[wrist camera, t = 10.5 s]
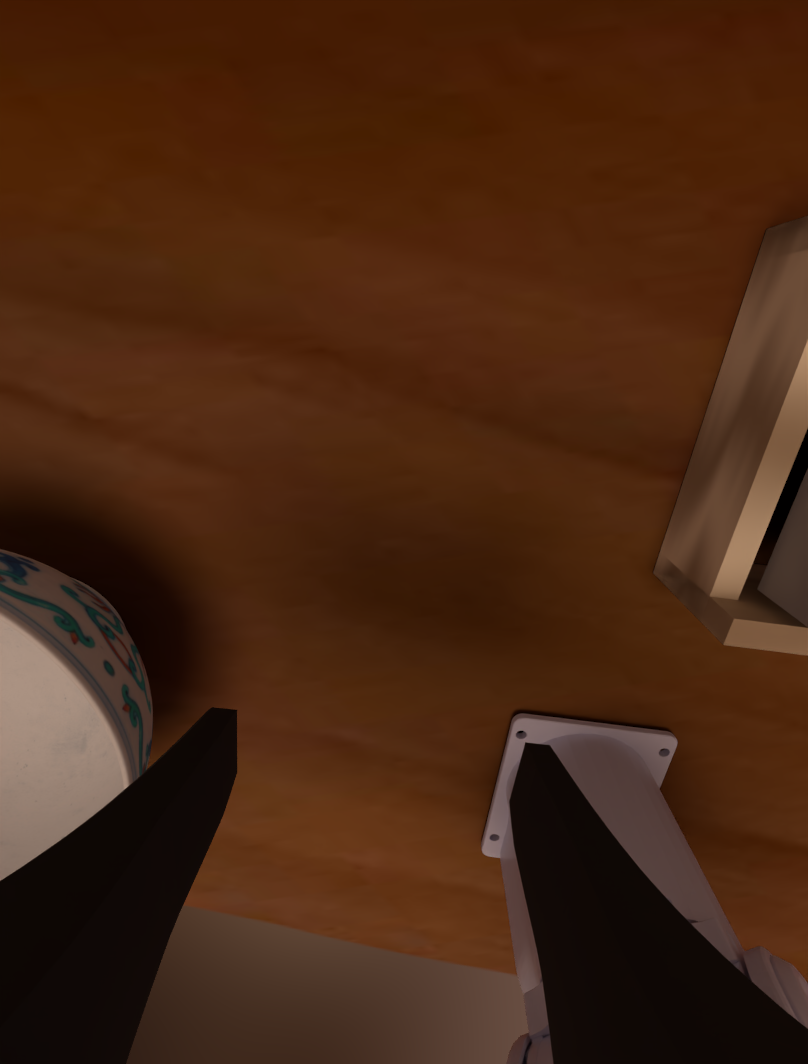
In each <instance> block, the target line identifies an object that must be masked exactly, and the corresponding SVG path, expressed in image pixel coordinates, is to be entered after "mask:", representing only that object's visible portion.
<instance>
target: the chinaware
mask: <svg viewBox="0 0 808 1064" xmlns="http://www.w3.org/2000/svg"><path fill="white" fill-rule="evenodd" d="M152 731H153V707H152V697H151V690H150V685H149V681H148V677H147V673H146V670H145V667H144V664H143V661H142V658H141V656H140V654H139V652H138V649H137V647H136V645H135V643H134V642H133V640H132V638H131V636H130V635H129V633H128V631H127V630H126V627H125V625H124V623H123V621H122V619H121V617H120V616H119V614H118V613H117V611H116V610H115V609H114V607H113V606H112V605H111V604H110V603H109V602H108V601H107V600H106V599H105V598H104V597H103V596H102V595H101V594H100V593H98V592H97V591H96V590H94V589H93V588H91V587H90V586H88V585H86V584H84V583H83V582H81V581H79V580H76V579H74V578H71V577H69V576H67V575H65V574H64V573H62V572H60V571H58V570H56V569H54V568H52V567H50V566H48V565H46V564H43V563H41V562H39V561H36V560H34V559H31V558H28V557H25V556H22V555H19V554H16V553H13V552H9V551H6V550H2V549H0V881H1V880H2V879H4V878H5V877H7V876H8V875H10V874H12V873H13V872H15V871H16V870H18V869H19V868H21V867H22V866H24V865H25V864H27V863H28V862H30V861H31V860H32V859H34V858H35V857H37V856H38V855H40V854H41V853H43V852H44V851H45V850H47V849H48V848H50V847H51V846H53V845H54V844H56V843H57V842H58V841H60V840H61V839H63V838H64V837H65V836H67V835H68V834H69V833H71V832H72V831H73V830H75V829H76V828H77V827H79V826H80V825H81V824H83V823H84V822H85V821H87V820H88V819H89V818H90V817H92V816H93V815H94V814H96V813H97V812H98V811H99V810H101V809H102V808H103V807H104V806H106V805H107V804H108V803H109V802H110V801H111V800H113V799H114V798H115V797H116V796H117V795H119V794H120V793H121V792H122V791H123V790H124V789H126V788H127V787H128V786H129V785H130V784H131V783H133V782H134V781H135V780H136V779H137V778H138V777H140V776H141V775H142V774H143V773H144V772H145V771H146V770H147V766H148V762H149V756H150V750H151V743H152Z"/></svg>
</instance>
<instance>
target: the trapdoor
mask: <svg viewBox="0 0 808 1064" xmlns="http://www.w3.org/2000/svg"><path fill="white" fill-rule="evenodd" d="M757 590H759V591H760V592H761V593H763V594H764V595H765V596H767V597H768V598H769V599H771V600H772V601H773V602H775V603H776V604H777V605H779V606H780V607H781V608H783V609H784V610H785V611H787V612H788V613H789V614H791V615H792V616H793V617H795V618H796V619H797V620H799V621H800V622H801V623H803V624H804V625H805V626H807V627H808V469H807V471H806V474H805V476H804V478H803V481H802V483H801V486H800V488H799V490H798V493H797V495H796V498H795V500H794V502H793V505H792V507H791V510H790V512H789V514H788V517H787V519H786V522H785V524H784V526H783V529H782V531H781V533H780V536H779V538H778V541H777V543H776V545H775V548H774V550H773V553H772V555H771V557H770V560H769V562H768V565H767V567H766V569H765V572H764V574H763V577H762V579H761V581H760V584H759V586H758V588H757Z"/></svg>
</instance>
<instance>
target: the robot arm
mask: <svg viewBox="0 0 808 1064" xmlns="http://www.w3.org/2000/svg"><path fill="white" fill-rule="evenodd" d="M518 731H524V732H522V733H517V732H518ZM677 744H678V741H677V739H676V737H675V736H674V734H672V733H671V732H668V731H661V730H653V729H645V728H637V727H629V726H621V725H613V724H605V723H597V722H589V721H581V720H573V719H565V718H557V717H549V716H541V715H533V714H525V713H521V714H517V715H516V716H514V717H513V719H512V722H511V726H510V730H509V734H508V738H507V742H506V746H505V750H504V754H503V758H502V762H501V766H500V770H499V774H498V778H497V782H496V786H495V790H494V794H493V798H492V802H491V806H490V810H489V814H488V818H487V822H486V826H485V831H484V835H483V839H482V843H481V848H482V852H483V854H485V855H486V856H489V857H497V858H500V860H501V867H502V874H503V881H504V888H505V895H506V902H507V909H508V915H509V922H510V929H511V936H512V943H513V950H514V957H515V964H516V970H517V975H518V979H519V983H520V986H521V989H522V992H523V996H524V1003H525V1009H526V1016H527V1023H528V1029H529V1033H527V1034H524V1035H522V1036H520V1037H519V1038H518V1039H517V1040H516V1041H515V1042H514V1043H513V1046H512V1048H511V1050H510V1052H509V1055H508V1060H507V1064H808V983H807V981H806V980H805V979H804V978H803V976H802V975H801V974H800V973H799V971H798V970H797V969H796V968H795V967H794V966H793V965H792V964H790V963H789V962H787V961H785V960H783V959H781V958H779V957H777V956H774V955H772V954H771V953H770V952H769V951H768V950H767V949H765V948H763V947H761V946H758V947H755V948H752V949H750V950H747V951H745V950H744V949H743V948H742V946H741V944H740V942H739V941H738V939H737V937H736V935H735V933H734V931H733V929H732V927H731V925H730V923H729V921H728V919H727V918H726V916H725V914H724V912H723V910H722V908H721V906H720V904H719V902H718V900H717V898H716V896H715V895H714V893H713V891H712V889H711V887H710V885H709V883H708V881H707V879H706V877H705V875H704V873H703V872H702V870H701V868H700V866H699V864H698V862H697V860H696V858H695V856H694V854H693V852H692V850H691V849H690V847H689V845H688V843H687V841H686V839H685V837H684V835H683V833H682V831H681V829H680V827H679V826H678V824H677V822H676V820H675V818H674V816H673V814H672V812H671V810H670V808H669V806H668V804H667V803H666V801H665V799H664V797H663V795H662V793H661V791H660V787H661V784H662V782H663V779H664V777H665V774H666V772H667V769H668V767H669V764H670V762H671V760H672V757H673V755H674V752H675V750H676V747H677ZM661 749H664V750H662V751H660V750H661ZM236 774H237V710H231V709H222V708H214V707H212V708H211V709H209V710H208V711H207V712H206V713H205V714H204V715H203V716H202V717H201V718H200V719H199V720H198V721H197V722H196V723H195V724H194V725H193V726H192V727H191V728H190V729H189V730H188V731H187V732H186V733H185V734H184V735H183V736H182V737H181V738H180V739H179V740H178V741H177V742H176V743H175V744H174V745H173V746H172V747H171V748H170V749H169V750H168V751H167V752H166V753H164V754H163V755H162V756H161V757H160V758H159V759H158V760H157V761H156V762H155V763H154V764H153V765H152V766H150V767H149V768H148V769H147V770H146V771H145V772H144V773H143V774H142V775H141V776H140V777H138V778H137V779H136V780H135V781H134V782H133V783H131V784H130V785H129V786H128V787H127V788H126V789H124V790H123V791H122V792H121V793H120V794H119V795H117V796H116V797H115V798H114V799H113V800H111V801H110V802H109V803H108V804H107V805H106V806H104V807H103V808H102V809H101V810H99V811H98V812H97V813H96V814H94V815H93V816H92V817H90V818H89V819H88V820H87V821H85V822H84V823H83V824H81V825H80V826H79V827H77V828H76V829H75V830H73V831H72V832H71V833H69V834H68V835H67V836H65V837H64V838H63V839H61V840H60V841H58V842H57V843H56V844H54V845H53V846H51V847H50V848H48V849H47V850H45V851H44V852H43V853H41V854H40V855H38V856H37V857H35V858H34V859H32V860H31V861H30V862H28V863H27V864H25V865H24V866H22V867H21V868H19V869H18V870H16V871H15V872H13V873H12V874H10V875H8V876H7V877H5V878H4V879H2V880H1V881H0V1064H126V1062H127V1059H128V1056H129V1053H130V1050H131V1047H132V1044H133V1041H134V1038H135V1035H136V1032H137V1029H138V1026H139V1023H140V1020H141V1017H142V1014H143V1011H144V1008H145V1006H146V1003H147V1000H148V997H149V994H150V991H151V988H152V985H153V982H154V980H155V977H156V974H157V971H158V968H159V965H160V963H161V960H162V957H163V954H164V951H165V949H166V946H167V943H168V940H169V937H170V935H171V932H172V930H173V928H174V925H175V923H176V920H177V918H178V915H179V913H180V911H181V908H182V906H183V904H184V902H185V900H186V897H187V895H188V893H189V891H190V888H191V886H192V884H193V882H194V880H195V877H196V875H197V873H198V871H199V868H200V866H201V864H202V862H203V860H204V857H205V855H206V853H207V851H208V848H209V846H210V844H211V842H212V839H213V837H214V835H215V833H216V830H217V828H218V826H219V824H220V821H221V819H222V817H223V814H224V811H225V808H226V805H227V802H228V799H229V796H230V793H231V790H232V787H233V784H234V780H235V777H236Z"/></svg>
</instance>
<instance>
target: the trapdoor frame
mask: <svg viewBox="0 0 808 1064" xmlns="http://www.w3.org/2000/svg"><path fill="white" fill-rule="evenodd" d="M807 429H808V216H805V217H802V218H799V219H796V220H793V221H790V222H787V223H783V224H780V225H777V226H774V227H771V228H768V229H766V232H765V235H764V238H763V241H762V244H761V247H760V250H759V254H758V257H757V260H756V263H755V266H754V269H753V272H752V275H751V278H750V281H749V284H748V287H747V290H746V293H745V296H744V299H743V302H742V305H741V308H740V311H739V314H738V317H737V320H736V323H735V326H734V329H733V332H732V335H731V338H730V341H729V344H728V347H727V350H726V353H725V356H724V359H723V362H722V365H721V369H720V372H719V375H718V378H717V381H716V384H715V387H714V390H713V393H712V396H711V399H710V402H709V405H708V408H707V411H706V414H705V417H704V420H703V423H702V426H701V429H700V432H699V435H698V438H697V441H696V444H695V447H694V450H693V453H692V456H691V459H690V462H689V465H688V468H687V471H686V474H685V477H684V480H683V484H682V487H681V490H680V493H679V496H678V499H677V502H676V505H675V508H674V511H673V514H672V517H671V520H670V523H669V526H668V529H667V532H666V535H665V538H664V541H663V544H662V547H661V550H660V553H659V556H658V559H657V562H656V565H655V568H654V571H653V573H654V574H655V575H656V577H657V578H658V579H659V580H660V581H661V582H662V583H663V584H664V585H665V586H666V587H667V588H668V589H669V590H670V591H671V592H672V593H673V594H674V595H675V596H676V597H677V598H678V599H679V600H680V601H681V602H682V603H683V604H684V605H685V606H686V607H687V608H688V609H689V610H690V611H691V612H692V613H693V614H694V615H695V616H696V617H697V618H698V619H699V621H700V622H701V623H702V624H703V625H704V626H705V627H706V628H707V629H708V630H709V631H710V632H711V633H712V634H713V635H714V636H715V637H716V638H717V639H718V640H719V641H720V642H721V643H722V644H723V645H728V646H736V647H744V648H752V649H760V650H768V651H776V652H784V653H792V654H800V655H807V656H808V627H807V626H805V625H804V624H803V623H801V622H800V621H799V620H797V619H796V618H795V617H793V616H792V615H791V614H789V613H788V612H787V611H785V610H784V609H783V608H781V607H780V606H779V605H777V604H776V603H775V602H773V601H772V600H771V599H769V598H768V597H767V596H765V595H764V594H763V593H761V592H760V591H759V590H757V588H758V586H759V584H760V581H761V579H762V577H763V574H764V572H765V569H766V567H767V565H760V564H753V561H754V559H755V557H756V554H757V552H758V549H759V547H760V544H761V542H762V539H763V537H764V534H765V532H766V529H767V527H768V525H769V522H770V520H771V517H772V515H773V512H774V510H775V507H776V505H777V502H778V500H779V497H780V495H781V493H782V490H783V488H784V485H785V483H786V480H787V478H788V475H789V473H790V470H791V468H792V465H793V463H794V461H795V458H796V456H797V453H798V451H799V448H800V446H801V443H802V441H803V438H804V436H805V433H806V431H807Z"/></svg>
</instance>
